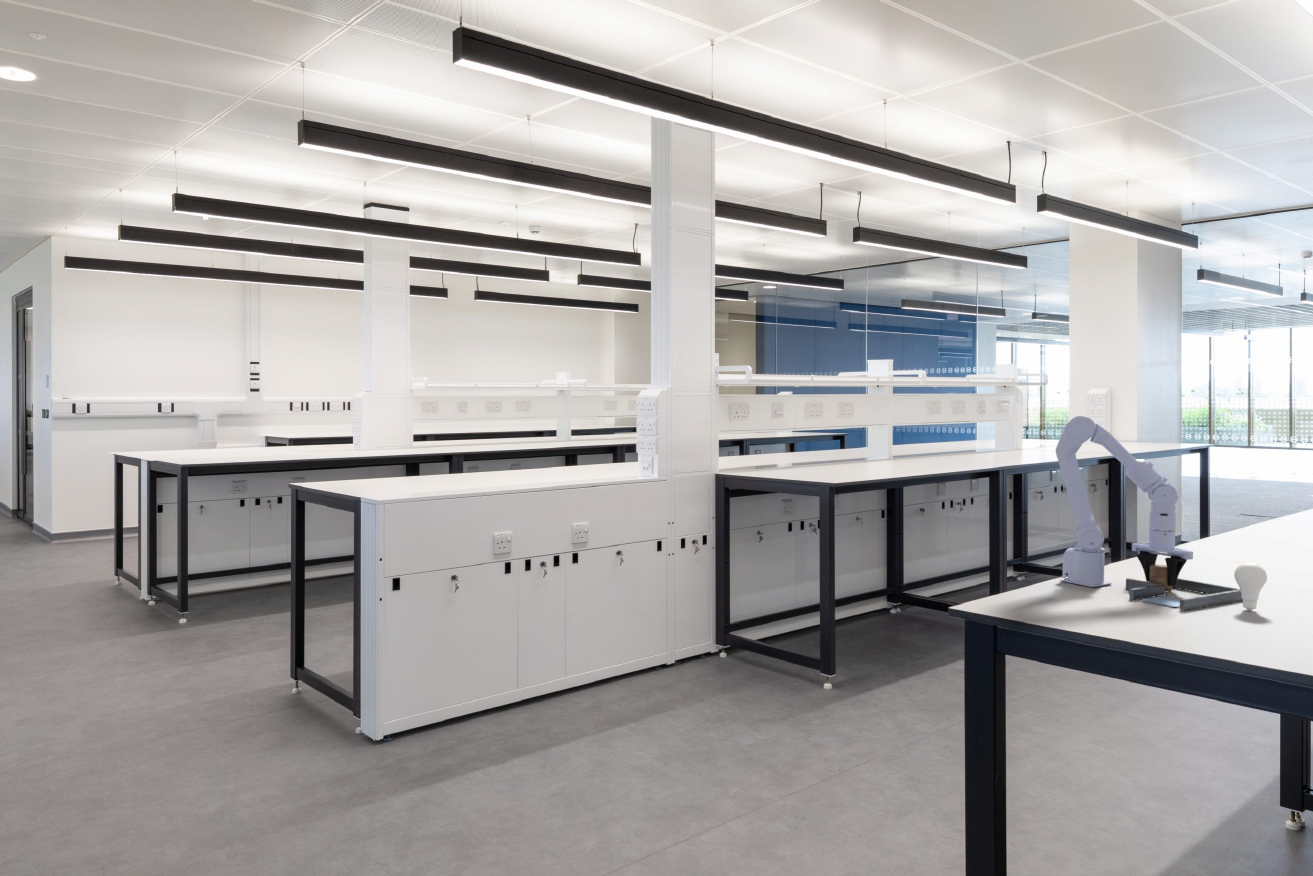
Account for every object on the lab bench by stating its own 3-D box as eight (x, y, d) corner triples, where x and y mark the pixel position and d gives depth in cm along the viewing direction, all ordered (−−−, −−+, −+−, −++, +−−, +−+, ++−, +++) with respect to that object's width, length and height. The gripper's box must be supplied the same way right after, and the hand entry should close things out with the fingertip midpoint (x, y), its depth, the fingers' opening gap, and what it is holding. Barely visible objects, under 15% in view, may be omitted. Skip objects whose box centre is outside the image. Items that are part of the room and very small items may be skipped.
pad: (1141, 601, 203) (1142, 599, 203) (1162, 597, 206) (1162, 596, 206) (1175, 608, 196) (1175, 606, 196) (1196, 604, 199) (1196, 603, 199)
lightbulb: (1227, 609, 195) (1228, 561, 195) (1243, 606, 198) (1245, 559, 197) (1255, 614, 190) (1257, 566, 189) (1272, 612, 192) (1273, 564, 192)
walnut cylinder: (1144, 588, 217) (1145, 565, 217) (1156, 587, 219) (1157, 563, 219) (1164, 592, 213) (1164, 568, 212) (1176, 590, 215) (1176, 567, 215)
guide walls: (1096, 592, 212) (1097, 582, 212) (1156, 583, 223) (1157, 574, 223) (1184, 610, 193) (1184, 600, 193) (1244, 600, 204) (1245, 590, 204)
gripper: (1200, 533, 211) (1199, 587, 211) (1144, 525, 224) (1142, 576, 224) (1183, 534, 208) (1182, 589, 208) (1127, 527, 220) (1126, 579, 221)
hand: (1160, 583), depth 216 cm, fingers closed on walnut cylinder, 5 cm apart
